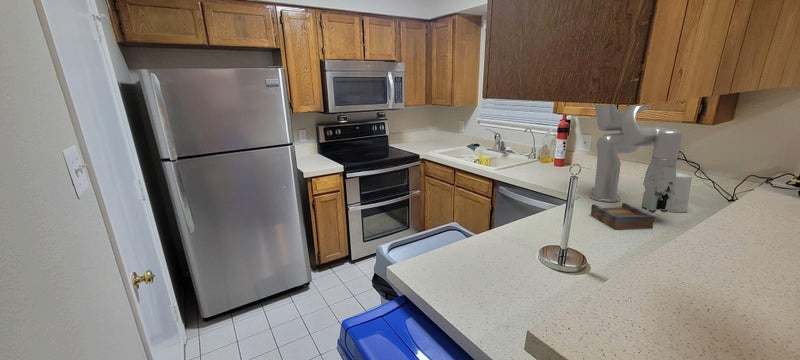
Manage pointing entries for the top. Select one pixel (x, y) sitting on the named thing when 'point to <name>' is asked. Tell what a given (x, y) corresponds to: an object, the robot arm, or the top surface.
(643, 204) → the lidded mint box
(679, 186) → the skincare box
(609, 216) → the brown wooden tray
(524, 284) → the top surface
